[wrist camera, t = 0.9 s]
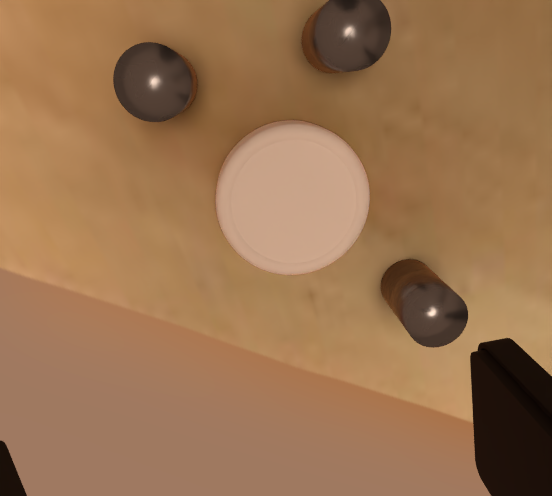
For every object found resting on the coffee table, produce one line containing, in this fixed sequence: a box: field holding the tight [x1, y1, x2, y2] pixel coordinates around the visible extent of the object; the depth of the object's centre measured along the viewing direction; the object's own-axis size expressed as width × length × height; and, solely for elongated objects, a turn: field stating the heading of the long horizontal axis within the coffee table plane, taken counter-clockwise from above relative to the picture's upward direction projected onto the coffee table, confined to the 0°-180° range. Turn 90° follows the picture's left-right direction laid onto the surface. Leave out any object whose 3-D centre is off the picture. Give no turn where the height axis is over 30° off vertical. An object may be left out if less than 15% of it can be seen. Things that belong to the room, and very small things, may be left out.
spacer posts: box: [113, 0, 468, 347], centre depth 33 cm, size 17×22×6 cm
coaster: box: [215, 120, 370, 275], centre depth 34 cm, size 10×10×4 cm
